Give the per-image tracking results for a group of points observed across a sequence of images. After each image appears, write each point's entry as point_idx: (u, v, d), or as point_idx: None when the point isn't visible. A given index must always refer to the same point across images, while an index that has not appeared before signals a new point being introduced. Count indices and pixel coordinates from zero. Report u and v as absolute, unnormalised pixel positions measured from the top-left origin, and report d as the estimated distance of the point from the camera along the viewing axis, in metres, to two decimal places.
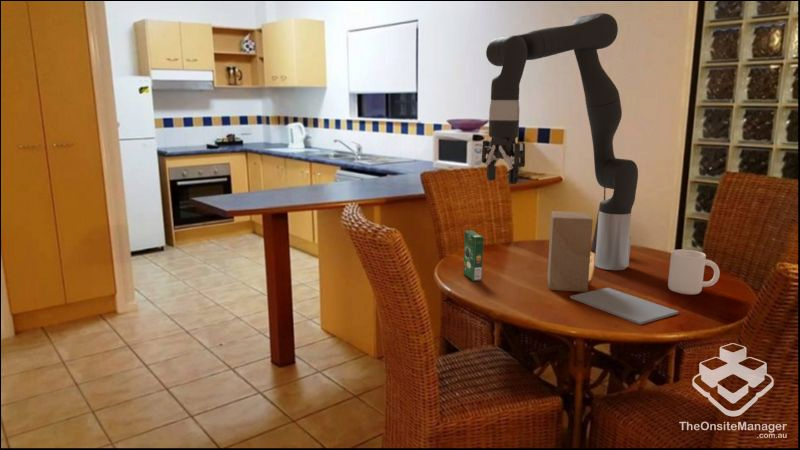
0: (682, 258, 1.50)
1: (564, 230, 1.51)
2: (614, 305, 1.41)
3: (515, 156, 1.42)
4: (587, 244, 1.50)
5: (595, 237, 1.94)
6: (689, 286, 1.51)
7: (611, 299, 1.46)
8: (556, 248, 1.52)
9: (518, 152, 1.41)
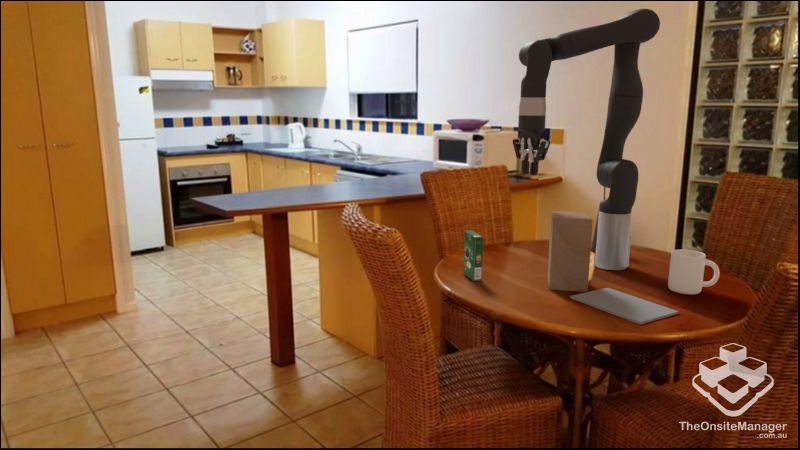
0: (682, 258, 1.50)
1: (564, 230, 1.51)
2: (614, 305, 1.41)
3: (538, 151, 1.61)
4: (587, 244, 1.50)
5: (595, 237, 1.94)
6: (689, 286, 1.51)
7: (611, 299, 1.46)
8: (556, 248, 1.52)
9: (542, 149, 1.60)
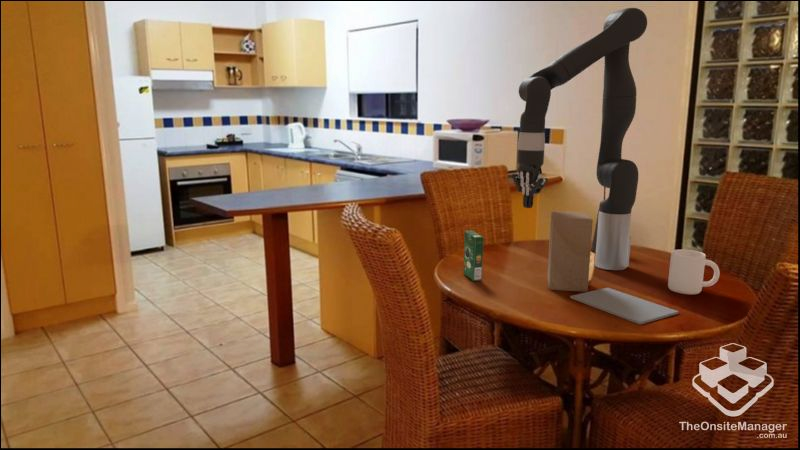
0: (682, 258, 1.50)
1: (564, 230, 1.51)
2: (614, 305, 1.41)
3: (535, 186, 1.64)
4: (587, 244, 1.50)
5: (595, 237, 1.94)
6: (689, 286, 1.51)
7: (611, 299, 1.46)
8: (556, 248, 1.52)
9: (538, 185, 1.63)
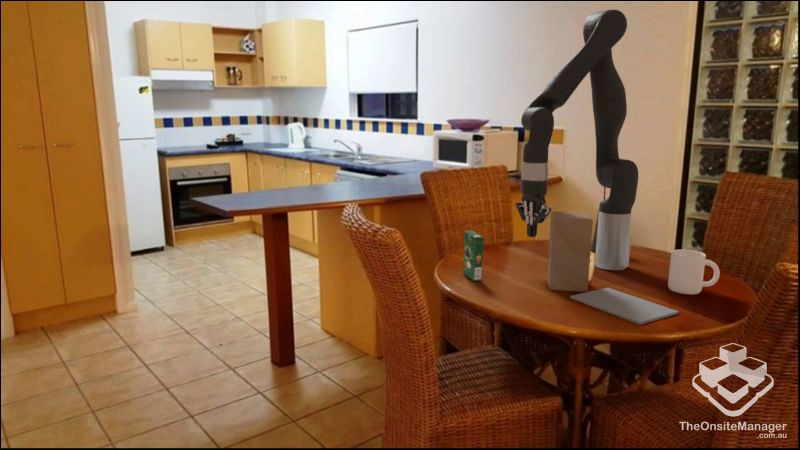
0: (682, 258, 1.50)
1: (564, 230, 1.51)
2: (614, 305, 1.41)
3: (538, 216, 1.64)
4: (587, 244, 1.50)
5: (595, 237, 1.94)
6: (689, 286, 1.51)
7: (611, 299, 1.46)
8: (556, 248, 1.52)
9: (542, 215, 1.63)
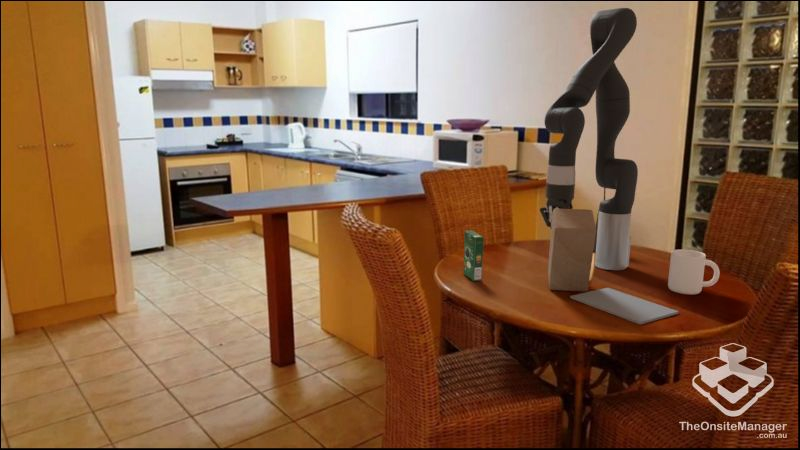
0: (682, 258, 1.50)
1: (565, 240, 1.45)
2: (614, 305, 1.41)
3: None
4: (589, 252, 1.46)
5: (595, 237, 1.94)
6: (689, 286, 1.51)
7: (611, 299, 1.46)
8: (557, 255, 1.48)
9: None
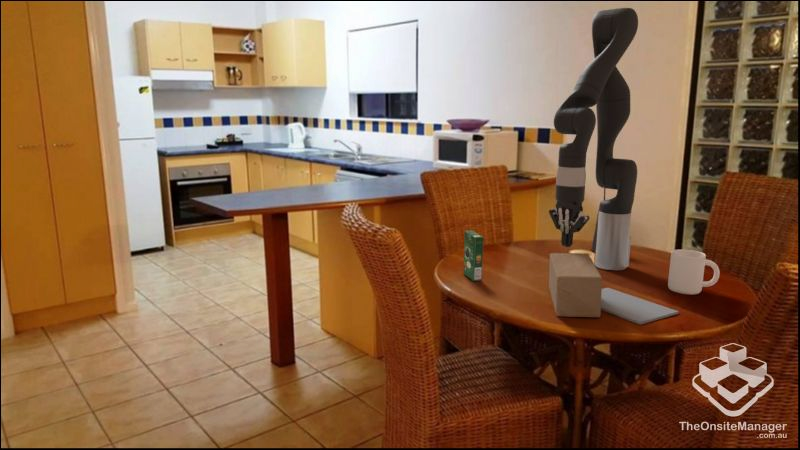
0: (682, 258, 1.50)
1: None
2: (614, 305, 1.41)
3: (575, 225, 1.52)
4: None
5: (595, 237, 1.94)
6: (689, 286, 1.51)
7: (611, 299, 1.46)
8: None
9: (579, 224, 1.51)
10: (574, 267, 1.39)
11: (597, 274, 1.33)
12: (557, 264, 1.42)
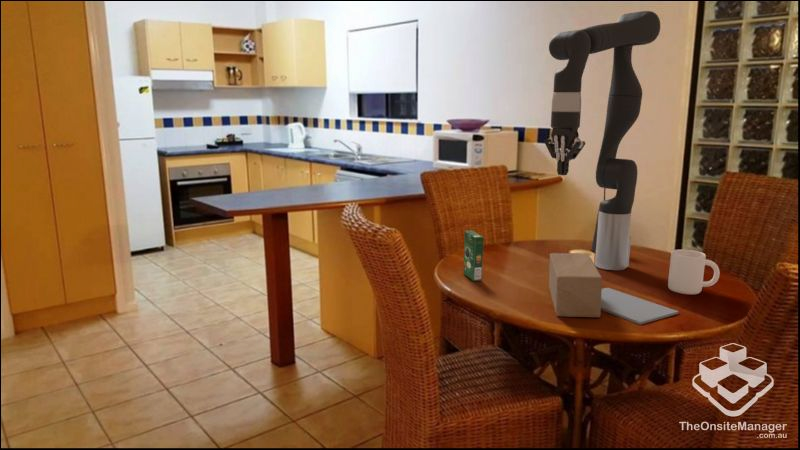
0: (682, 258, 1.50)
1: None
2: (614, 305, 1.41)
3: (571, 151, 1.51)
4: None
5: (595, 237, 1.94)
6: (689, 286, 1.51)
7: (611, 299, 1.46)
8: None
9: (575, 150, 1.50)
10: (574, 267, 1.39)
11: (597, 274, 1.33)
12: (557, 264, 1.42)
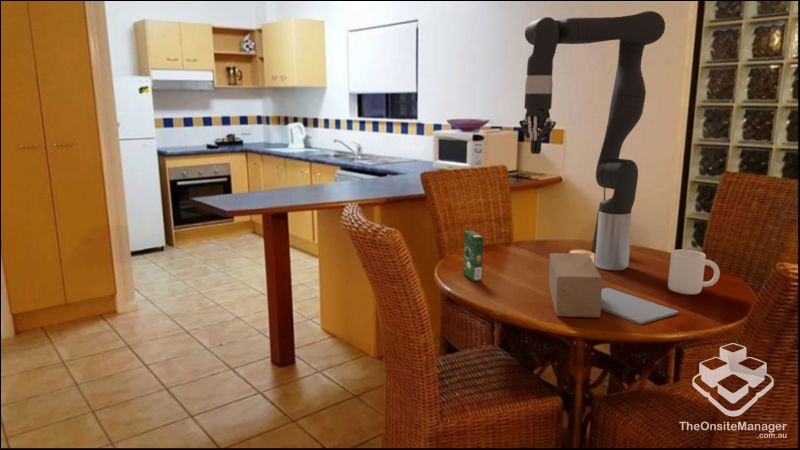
0: (682, 258, 1.50)
1: None
2: (614, 305, 1.41)
3: (542, 130, 1.61)
4: None
5: (595, 237, 1.94)
6: (689, 286, 1.51)
7: (611, 299, 1.46)
8: None
9: (546, 129, 1.61)
10: (574, 267, 1.39)
11: (597, 274, 1.33)
12: (557, 264, 1.42)
